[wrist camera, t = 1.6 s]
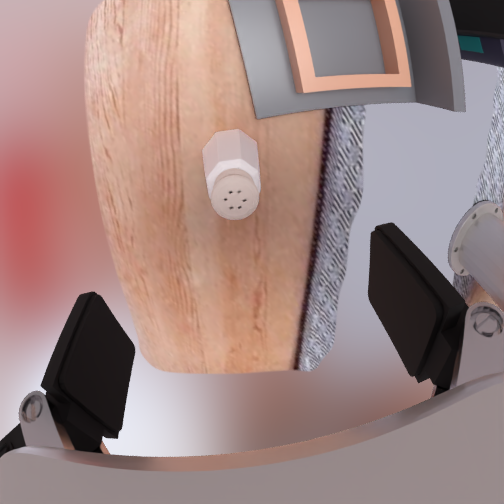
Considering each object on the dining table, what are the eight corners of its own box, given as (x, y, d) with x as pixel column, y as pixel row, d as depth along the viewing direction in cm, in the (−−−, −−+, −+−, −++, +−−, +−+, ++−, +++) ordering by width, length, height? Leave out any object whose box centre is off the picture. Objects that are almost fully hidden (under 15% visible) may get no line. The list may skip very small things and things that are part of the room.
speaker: (419, 23, 18) (497, 23, 10) (434, -4, 16) (506, -8, 7) (457, 69, 21) (528, 85, 13) (470, 41, 19) (536, 51, 10)
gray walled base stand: (399, -16, 16) (439, -30, 10) (422, 101, 23) (465, 111, 17) (223, -17, 16) (223, -48, 10) (256, 118, 24) (267, 128, 18)
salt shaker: (270, 166, 26) (297, 214, 17) (220, 193, 27) (219, 255, 18) (242, 116, 24) (254, 135, 14) (190, 147, 25) (169, 185, 15)
